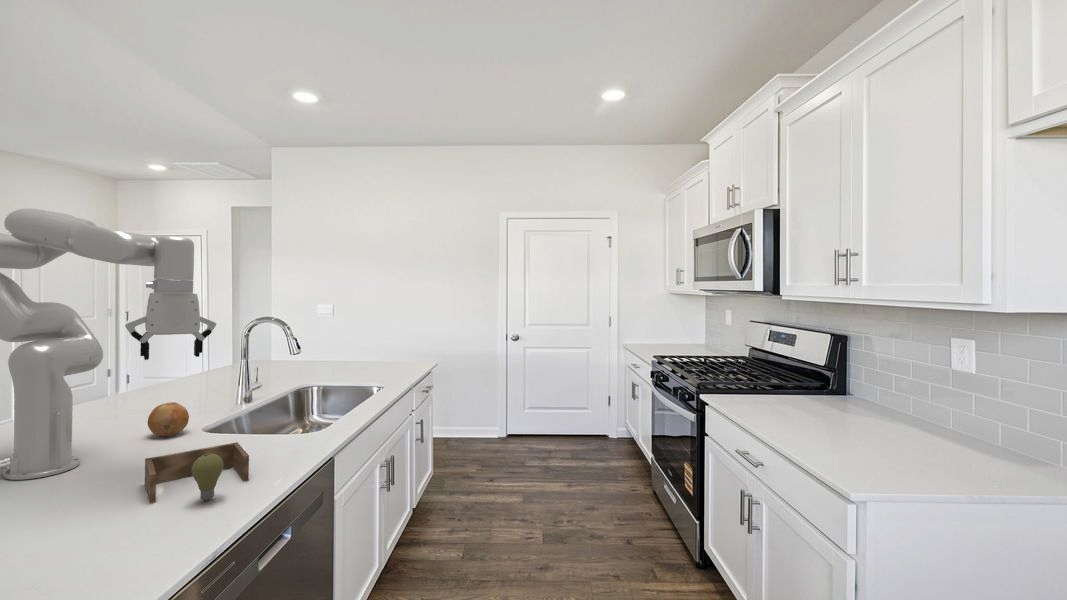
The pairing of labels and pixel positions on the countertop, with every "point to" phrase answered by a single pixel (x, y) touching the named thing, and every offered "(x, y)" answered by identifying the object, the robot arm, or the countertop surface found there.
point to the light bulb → (207, 474)
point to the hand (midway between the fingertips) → (172, 357)
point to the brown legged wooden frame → (182, 465)
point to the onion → (168, 419)
